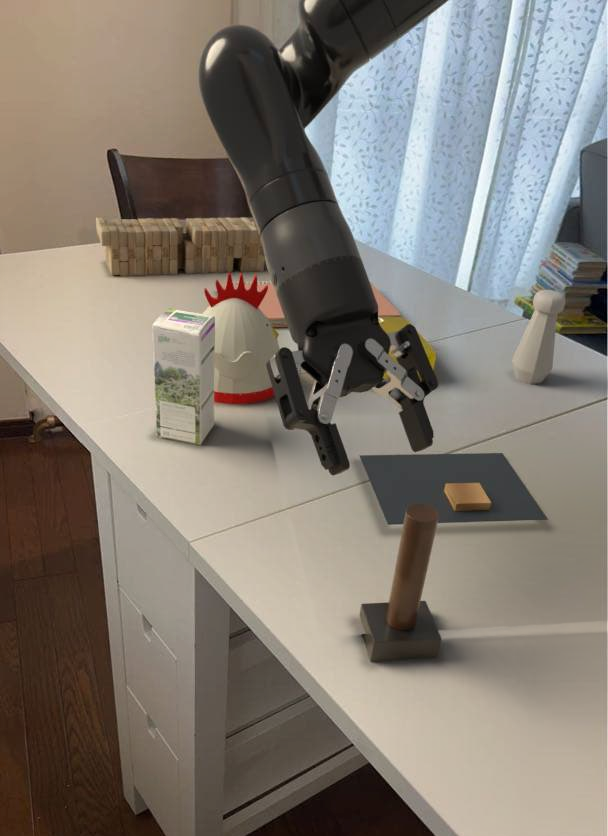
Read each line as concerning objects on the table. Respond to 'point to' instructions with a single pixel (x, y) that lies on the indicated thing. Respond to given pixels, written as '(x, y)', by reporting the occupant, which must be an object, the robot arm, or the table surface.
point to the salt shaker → (538, 339)
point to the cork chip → (467, 496)
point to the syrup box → (184, 375)
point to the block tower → (180, 245)
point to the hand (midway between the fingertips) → (383, 460)
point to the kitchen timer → (241, 343)
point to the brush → (405, 597)
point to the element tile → (395, 325)
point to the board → (428, 473)
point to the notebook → (275, 313)
